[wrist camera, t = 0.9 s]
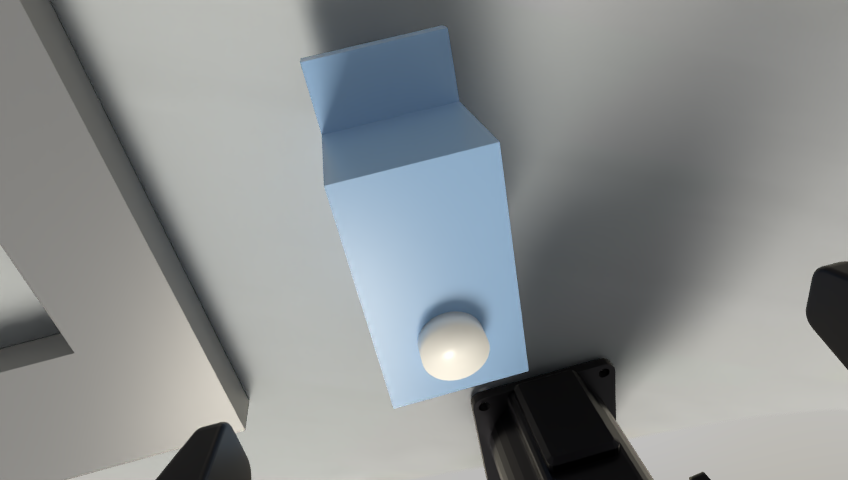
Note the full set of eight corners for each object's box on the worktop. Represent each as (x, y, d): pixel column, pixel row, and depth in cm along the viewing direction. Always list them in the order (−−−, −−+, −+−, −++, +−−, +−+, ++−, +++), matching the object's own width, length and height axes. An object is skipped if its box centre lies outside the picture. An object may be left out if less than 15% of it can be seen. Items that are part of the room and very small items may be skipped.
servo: (431, 19, 16) (496, 54, 10) (481, 306, 22) (542, 434, 16) (302, 49, 16) (294, 103, 10) (385, 332, 21) (411, 471, 16)
